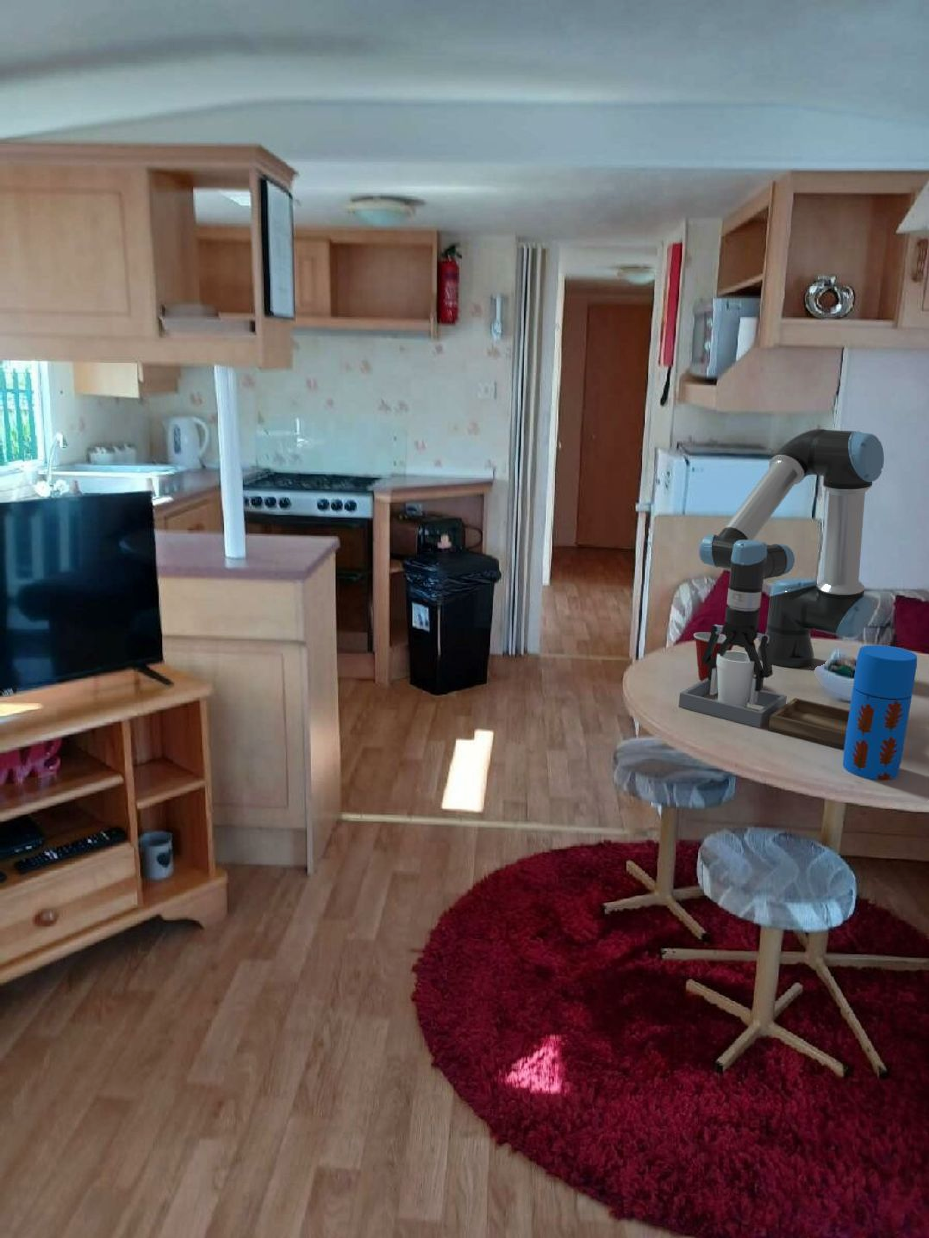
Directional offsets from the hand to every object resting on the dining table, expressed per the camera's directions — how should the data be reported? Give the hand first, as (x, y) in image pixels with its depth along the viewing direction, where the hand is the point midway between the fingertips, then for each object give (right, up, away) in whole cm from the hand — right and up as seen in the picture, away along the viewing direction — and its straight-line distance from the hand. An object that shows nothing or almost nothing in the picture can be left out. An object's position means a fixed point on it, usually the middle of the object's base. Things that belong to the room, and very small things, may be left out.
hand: (733, 698), depth 226 cm
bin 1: (0, -2, +1) cm, 3 cm away
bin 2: (+17, -6, -12) cm, 22 cm away
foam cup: (0, -3, +1) cm, 3 cm away
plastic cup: (0, +3, +21) cm, 22 cm away
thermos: (+19, -12, -32) cm, 39 cm away
